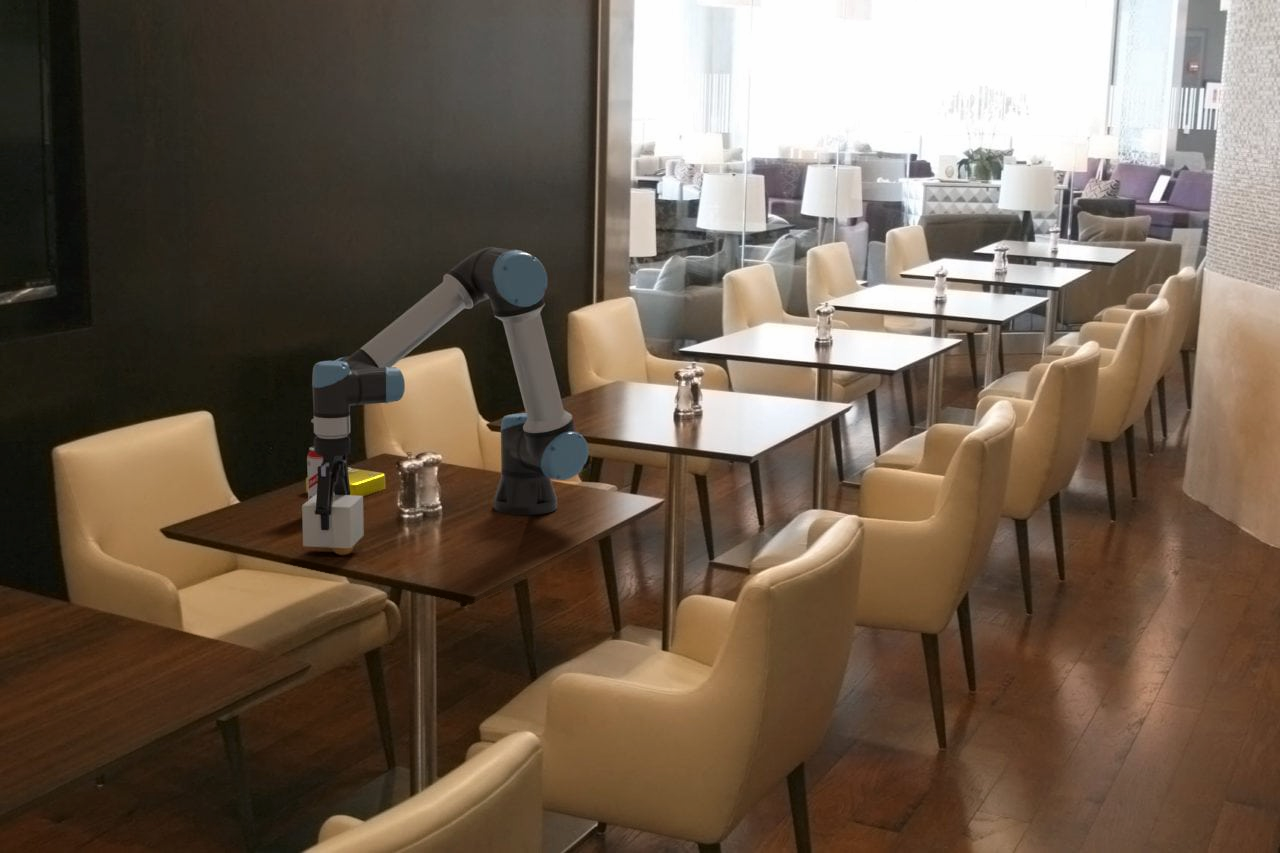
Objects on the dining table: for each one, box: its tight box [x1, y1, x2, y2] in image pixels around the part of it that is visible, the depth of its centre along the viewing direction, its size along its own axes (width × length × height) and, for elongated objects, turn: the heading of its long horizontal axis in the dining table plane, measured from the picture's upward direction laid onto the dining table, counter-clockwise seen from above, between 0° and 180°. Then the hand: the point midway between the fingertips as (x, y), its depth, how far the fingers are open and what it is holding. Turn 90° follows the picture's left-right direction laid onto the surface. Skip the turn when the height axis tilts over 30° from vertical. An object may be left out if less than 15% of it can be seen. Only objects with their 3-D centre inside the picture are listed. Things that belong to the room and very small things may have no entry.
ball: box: [331, 544, 356, 556], centre depth 318 cm, size 5×5×5 cm
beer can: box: [306, 445, 335, 501], centre depth 349 cm, size 6×6×16 cm
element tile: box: [305, 466, 386, 497], centre depth 373 cm, size 15×15×5 cm
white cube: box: [301, 494, 365, 549], centre depth 318 cm, size 10×10×9 cm
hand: (334, 537), depth 318 cm, fingers closed on white cube, 10 cm apart
